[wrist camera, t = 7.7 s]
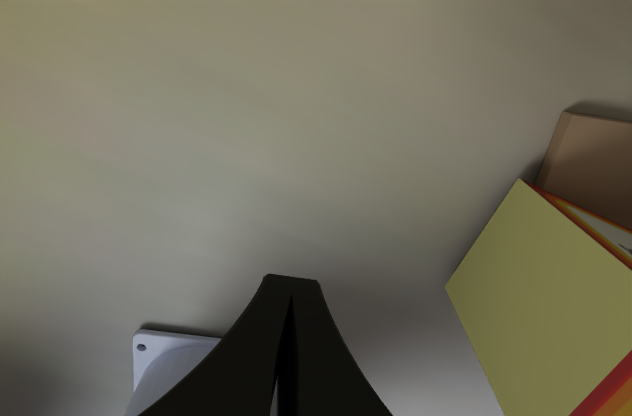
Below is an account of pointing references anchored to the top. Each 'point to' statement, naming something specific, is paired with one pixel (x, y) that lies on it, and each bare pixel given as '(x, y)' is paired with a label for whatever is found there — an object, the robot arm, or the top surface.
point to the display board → (591, 165)
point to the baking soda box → (550, 306)
